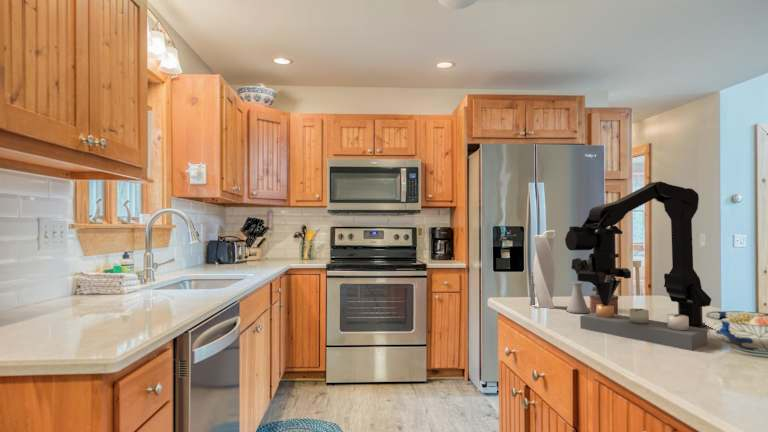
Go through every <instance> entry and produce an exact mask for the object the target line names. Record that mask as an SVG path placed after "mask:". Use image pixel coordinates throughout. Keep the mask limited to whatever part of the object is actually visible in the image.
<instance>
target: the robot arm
mask: <svg viewBox="0 0 768 432" xmlns="http://www.w3.org/2000/svg"><path fill="white" fill-rule="evenodd" d="M699 196H700V195H699V194H698V192H696V191H695V189H692V188H685V187H683V186H678V185H673V184H670V183H666V182H663V181H654V182H648V183H647V184H646V185H644V186H643V187H641V188H639V189H637V190H634V191H633V192H631V193H629V194H627V195H625V196H623V197H621V198H620V199H618V200H615V201H612V202H609V203H605V204H604V203H603V204H600V205H597V206H594V207H592V208H591V209H590V210H589V213H588V216H587V217H586V219H585V220H584V222H583V224H582V225H581V226H574V225H573V226H569V229H568V232H567V233H566V236H565V239H564V242H565V245H566V248H567V249H568V250H569V251H591V250H592V252H591V253H589V255H588V258H587V259H583V260H582V258H580V257H577V258H573V259H572V261H571V269H572V270H574V271H575V273H576V275H577V276H576V278H577V280H576V282H585V283H591V284H592V285H593V286H594V287H596V288H597V291H598V293H599V296H600V299H601V302H602V304H603V305H608V304H609V302H610V300H611V298H612V296H613V295H614V294H615V292H616V291H617V288H618V287H619V285H620V283H621V282H622V280H620V279H617V277H618V278H624V279H631V278H632V272H631V270H630V269H629V268H628V267H617V258H619V257H620V255H619V254H620V253H616V252H617V251H616V235H622V234H623V233H624V232H623V231H622V230H621V229H620V228H618V226H617V224H618V223H619V222H621V221H622V220H623V219H624V218H625V217H626V215H627V214H629V212H632V211H633V210H635V209H637V208H639V207H641V206H643V205H645V204H646V203H648V202H651V201H652V200H655V201H656V202H658V203H661V204H663V207H664V211H665V213H666V214H667V216H668V217H669V219H670V227H671V228H670V229H671V230H670V232H671V256H672V257H671V260H672V265H671V266H672V268H671V269H670V271H669V273H664V274H663V275H664V276H663V278H664V285H663V288H665V291H666V293H667V294H668V295H669V299H670V301H671V302H673V303H677V309H678V310H677V311H678V312H677V313H678V314H681V315H685V316H688V317H689V326H691V327H697V328H703V327H706V326H705V323H706V322H703V319H704V318H703V308H704V307H705V308H706V307H710V305H711V302H712V298H711V297H710V296H709V295H708V294H707V293H706V292H705V291H704V290H703V289H702V282H701V278H700V277H699V275H698V274H697V272H696V271H695V269H694V256H693V255H694V251H693V250H694V248H693V223H692V221H693V220H692V219H693V218H694V216H695V214H696V213H697V211H698V210H699V209H698V208H699V199H700V197H699Z"/></svg>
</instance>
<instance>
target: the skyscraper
mask: <svg viewBox="0 0 768 432" xmlns="http://www.w3.org/2000/svg"><path fill="white" fill-rule="evenodd" d="M551 232H553V235H552V236H549V234H547V233H551ZM555 236H556V230H553V229H550V230H546V231H544V232H543V233H542V234H535V235H533V237H532V239H533V243H534V248H535V255H534V261H533V271H531V276H530V278H531V281H530V302H529V305H530V307H532V308H533V307H534V308H533V309H539V308H550V309H553V310H554V309H556V307H555V305H554V302H553V297H554V291H555V286H556V285H555V284H556V283H555V282H556V265H555V259H554V255H553V248H554V247H553V246H554V242H555V241H554V239H555ZM535 304H536V306H532V305H535Z"/></svg>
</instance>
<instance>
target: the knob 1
mask: <svg viewBox="0 0 768 432" xmlns="http://www.w3.org/2000/svg"><path fill="white" fill-rule="evenodd" d="M596 316H598V317H602V318H614V306H612V305H603V304H598V305H596Z"/></svg>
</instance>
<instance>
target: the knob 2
mask: <svg viewBox="0 0 768 432" xmlns="http://www.w3.org/2000/svg"><path fill="white" fill-rule="evenodd" d="M666 323H667V327H668V328H671V329H676V330H689V317H688V316H685V315H681V314H677V313H668V314H666Z"/></svg>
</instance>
